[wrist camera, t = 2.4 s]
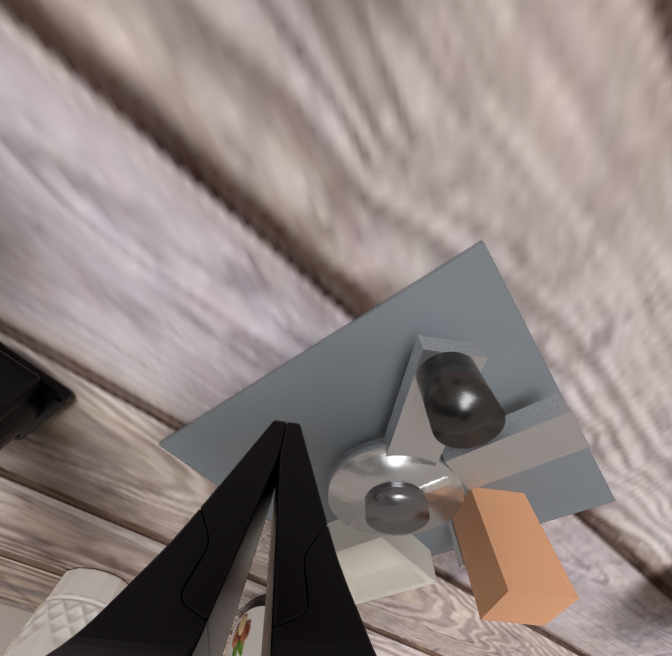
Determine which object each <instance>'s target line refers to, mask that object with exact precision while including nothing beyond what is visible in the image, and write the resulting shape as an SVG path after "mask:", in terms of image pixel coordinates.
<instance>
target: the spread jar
mask: <svg viewBox="0 0 672 656" xmlns="http://www.w3.org/2000/svg"><path fill="white" fill-rule="evenodd" d="M265 600H266V595H263V596H260V597H257V598H256V599H254V600H253V601H252V602H250V604H249V605H248V606H247V607H246V608H245V610H244V611H243V612H242V614H241V615H240V617H239V619H238V621H237V623H236V625H235V627H234V630H233V633H232V635H231V639H230V642H229V645H228V649H227V653H226V656H261V650H262V638H263V625H264V613H265Z"/></svg>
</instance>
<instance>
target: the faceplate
mask: <svg viewBox="0 0 672 656" xmlns="http://www.w3.org/2000/svg"><path fill="white" fill-rule="evenodd" d="M417 335H423V336H430V337H437V338H444V339H451V340H458V341H465V342H472V343H477V344H478V345H479V346H480V348H481V349H482V351H483V352H484V354H485V355H486V357H487V358H488V359H487V361H486V363H485V365H484V367H483V369H482V371H481V374H482V376H483V377H484V379H485V381H486V382H487V384H488V386H489V387H490V389H491V391H492V392H493V394H494V395H495V397H496V399H497V400H498V402H499V404H500V405H501V407H502V409H503V410H504V412H505V415H508V414H510V413H512V412H515V411H517V410H520V409H522V408H524V407H527V406H529V405H531V404H534V403H536V402H538V401H541V400H543V399H545V398H548V397H550V396H553V395H555V394H557V395H558V396H559V397H560V398H561V399H562V400H563V402H564V403H565V401H564V399H563V397H562V395H561V393H560V391H559V389H558V387H557V385H556V383H555V381H554V379H553V377H552V375H551V373H550V371H549V369H548V367H547V365H546V363H545V361H544V359H543V357H542V355H541V353H540V351H539V349H538V347H537V346H536V344H535V342H534V340H533V338H532V336H531V334H530V332H529V330H528V328H527V326H526V324H525V322H524V320H523V318H522V316H521V314H520V312H519V310H518V308H517V306H516V304H515V302H514V300H513V298H512V296H511V294H510V292H509V291H508V289H507V287H506V285H505V283H504V281H503V279H502V277H501V275H500V273H499V271H498V269H497V267H496V265H495V263H494V261H493V259H492V257H491V255H490V253H489V251H488V249H487V247H486V245H485V243H484V242H483V241H480V242H478V243H476V244H475V245H473V246H472V247H470V248H468V249H467V250H465V251H464V252H462V253H460V254H459V255H457V256H456V257H454V258H452V259H451V260H449V261H448V262H446V263H444V264H443V265H441V266H440V267H438V268H436V269H435V270H433V271H432V272H430V273H428V274H427V275H425V276H424V277H422V278H420V279H419V280H417V281H416V282H414V283H412V284H411V285H409V286H408V287H406V288H404V289H403V290H401V291H400V292H398V293H397V294H395V295H393V296H392V297H390V298H389V299H387V300H385V301H384V302H382V303H381V304H379V305H377V306H376V307H374V308H373V309H371V310H369V311H368V312H366V313H365V314H363V315H361V316H360V317H358V318H357V319H355V320H353V321H352V322H350V323H349V324H347V325H345V326H344V327H342V328H341V329H339V330H337V331H336V332H334V333H333V334H331V335H329V336H328V337H326V338H325V339H323V340H322V341H320V342H318V343H317V344H315V345H314V346H312V347H310V348H309V349H307V350H306V351H304V352H302V353H301V354H299V355H298V356H296V357H294V358H293V359H291V360H290V361H288V362H286V363H285V364H283V365H282V366H280V367H278V368H277V369H275V370H274V371H272V372H270V373H269V374H267V375H266V376H264V377H262V378H261V379H259V380H258V381H256V382H254V383H253V384H251V385H250V386H248V387H247V388H245V389H243V390H242V391H240V392H239V393H237V394H235V395H234V396H232V397H231V398H229V399H227V400H226V401H224V402H223V403H221V404H219V405H218V406H216V407H215V408H213V409H211V410H210V411H208V412H207V413H205V414H203V415H202V416H200V417H199V418H197V419H195V420H194V421H192V422H191V423H189V424H187V425H186V426H184V427H183V428H181V429H179V430H178V431H176V432H175V433H173V434H172V435H170V436H168V437H167V438H165V439H164V440H162V441H161V442H160V443H159V445H160V446H161V447H162V448H164V449H165V450H167V451H168V452H170V453H171V454H173V455H174V456H176V457H177V458H178V459H180V460H181V461H183V462H184V463H186V464H187V465H189V466H190V467H192V468H193V469H194V470H196V471H197V472H199V473H200V474H202V475H203V476H205V477H206V478H208V479H209V480H211V481H212V482H213V483H215V484H216V485H218V486H219V485H220V484H221V483H222V481H223V480H224V479H225V478H226V477H227V475H228V474H229V473H230V472H231V471H232V469H233V468H234V467H235V466H236V465H237V463H238V462H239V461H240V460H241V459H242V457H243V456H244V455H245V454H246V453H247V451H248V450H249V449H250V448H251V447H252V445H253V444H254V443H255V442H256V441H257V439H258V438H259V437H260V436H261V435H262V434H263V432H264V431H265V430H266V429H267V428H268V426H269V425H270V424H271V423H272V422H273V421H274V420H281V421H286V423H288V422H294V423H299V424H300V425H301V428H302V432H303V436H304V439H305V443H306V447H307V450H308V454H309V458H310V461H311V465H312V468H313V472H314V476H315V479H316V483H317V487H318V490H319V494H320V498H321V501H322V505H323V509H324V512H325V516H326V519H327V523H330V522H332V521H335V520H338V518H337V517H336V516H335V515H334V513H333V512H332V510H331V508H330V506H329V503H328V488H329V474H330V471H331V468H332V466H333V465H334V463H335V462H336V461H337V459H338V458H339V457H340V456H341V455H343V454H344V453H345V452H347V451H348V450H350V449H352V448H353V447H355V446H357V445H360V444H362V443H365V442H369V441H372V440H377V439H384V436H385V433H386V430H387V427H388V424H389V421H390V418H391V415H392V412H393V409H394V406H395V403H396V400H397V396H398V393H399V390H400V387H401V384H402V381H403V378H404V375H405V372H406V369H407V366H408V363H409V360H410V357H411V354H412V351H413V347H414V344H415V341H416V338H417ZM565 404H566V403H565ZM566 405H567V404H566ZM462 485H463V488H464V496H465V495H466V493H467V491H468V489H467V487H466V486H465V485H464V484H463V483H462ZM477 488H485V489H493V490H502V491H510V492H518V493H524V494H525V496H526V497H527V499H528V501H529V503H530V505H531V507H532V509H533V511H534V513H535V515H536V517H537V519H538V521H539V523H543V522H547V521H550V520H554V519H557V518H560V517H564V516H567V515H570V514H574V513H577V512H580V511H584V510H587V509H590V508H594V507H597V506H600V505H604V504H607V503H610V502H614V501H615V499H614V497H613V495H612V493H611V491H610V489H609V487H608V485H607V483H606V481H605V479H604V477H603V475H602V473H601V471H600V469H599V467H598V465H597V463H596V461H595V460H594V458H593V456H592V454H591V452H590V450H589V448H586V449H583V450H580V451H577V452H575V453H572V454H569V455H566V456H563V457H561V458H558V459H555V460H552V461H549V462H547V463H544V464H541V465H538V466H536V467H533V468H530V469H527V470H524V471H522V472H519V473H516V474H513V475H510V476H508V477H505V478H502V479H499V480H497V481H494V482H491V483H488V484H485V485H483V486H480V487H477ZM274 493H275V490H274ZM273 501H274V494H273V498H272V501H271V505H270V508H269V511H268V514H267V517H266V519H267V520H269V521H270V522H272V514H273ZM412 535H414V536H415V537H416V538H417V539H418V540H419V541H420V542H421V543H422V544H424V545H425V546H426V547H427V548H428V549H429V550H430V552H431V556H433V555H436V554H440V553H443V552H446V551H450V550H453V549H455V552H456V555H457V559H458V563H459V566H460V568H461V569H466V566H465V562H464V559H463V555H462V552H461V548H460V545H459V541H458V538H457V534H456V531H455V527H454V524H453V520H452V518H451V519H449V520H448V521H447V522H445V523H444V524H442V525H440V526H438V527H436V528H434V529H431V530H428V531H425V532H422V533H417V534H412Z"/></svg>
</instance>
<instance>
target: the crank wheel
mask: <svg viewBox="0 0 672 656" xmlns="http://www.w3.org/2000/svg"><path fill="white" fill-rule="evenodd" d="M487 359H488V358H487V357H486V355H485V354H484V352H483V351H482V349H481V348H480V346H479V345H478V344H477V343H472V342H465V341H458V340H451V339H444V338H437V337H430V336H423V335H417V338H416V341H415V344H414V347H413V351H412V354H411V357H410V360H409V363H408V366H407V369H406V372H405V375H404V378H403V381H402V384H401V387H400V390H399V393H398V396H397V400H396V403H395V406H394V409H393V412H392V415H391V418H390V421H389V424H388V427H387V430H386V433H385V436H384V439H377V440H372V441H369V442H365V443H362V444H360V445H357V446H355V447H353V448H352V449H350V450H348V451H347V452H345V453H344V454H343V455H341V456H340V457H339V458H338V459H337V461H336V462H335V463H334V465H333V466H332V468H331V471H330V474H329V488H328V503H329V506H330V508H331V510H332V512H333V513H334V515H335V516H336V517H337V518H338V519H339V520H340V521H342V522H343V523H345V524H346V525H348V526H350V527H352V528H354V529H356V530H359V531H362V532H365V533H370V534H374V535H382V536H405V535H412V534H417V533H422V532H425V531H428V530H431V529H434V528H436V527H438V526H440V525H442V524H444V523H445V522H447V521H448V520H449V519H451V518H452V517H453V516H454V515H455V514H456V513H457V512H458V510H459V509H460V508H461V506H462V503H463V500H464V488H463V485H462V483H463V484H464V485H465V486H466V487H467V489H468V490H471V489H474V488H477V487H480V486H483V485H485V484H488V483H491V482H494V481H497V480H499V479H502V478H505V477H508V476H510V475H513V474H516V473H519V472H522V471H524V470H527V469H530V468H533V467H536V466H538V465H541V464H544V463H547V462H549V461H552V460H555V459H558V458H561V457H563V456H566V455H569V454H572V453H575V452H577V451H580V450H583V449H586V448H588V447H590V446H589V444H588V442H587V440H586V438H585V436H584V434H583V432H582V430H581V428H580V426H579V424H578V422H577V420H576V418H575V416H574V414H573V412H572V411H571V410H570V408H569V407H568V406H567V405H566V404H565V403H564V402H563V400H562V399H561V398H560V397H559V396H558V395H557V394H555V395H553V396H550V397H548V398H545V399H543V400H541V401H538V402H536V403H534V404H531V405H529V406H527V407H524V408H522V409H520V410H517V411H515V412H512V413H510V414H508V415H505V412H504V410H503V409H502V407H501V405H500V404H499V402H498V400H497V399H496V397H495V395H494V394H493V392H492V391H491V389H490V387H489V386H488V384H487V382H486V381H485V379H484V377H483V376H482V374H481V371H482V369H483V367H484V365H485V363H486V361H487Z"/></svg>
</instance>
